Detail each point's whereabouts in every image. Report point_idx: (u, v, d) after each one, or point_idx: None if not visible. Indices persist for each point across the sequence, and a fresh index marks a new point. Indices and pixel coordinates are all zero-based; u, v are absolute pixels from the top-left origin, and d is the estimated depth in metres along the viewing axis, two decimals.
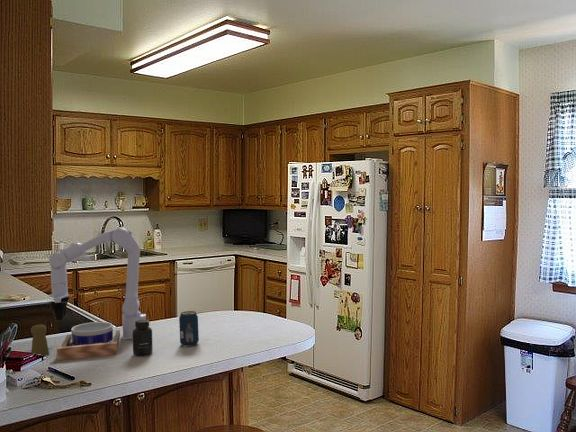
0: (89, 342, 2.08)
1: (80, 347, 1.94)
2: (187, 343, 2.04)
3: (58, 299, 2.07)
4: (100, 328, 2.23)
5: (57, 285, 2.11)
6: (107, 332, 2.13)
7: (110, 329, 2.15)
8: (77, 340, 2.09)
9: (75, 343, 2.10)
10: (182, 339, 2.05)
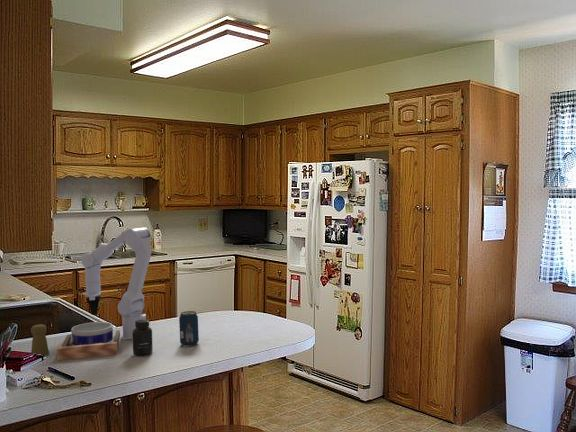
0: (89, 342, 2.08)
1: (80, 347, 1.94)
2: (187, 343, 2.04)
3: (93, 297, 2.20)
4: (100, 328, 2.23)
5: (91, 284, 2.24)
6: (107, 332, 2.13)
7: (110, 329, 2.15)
8: (77, 340, 2.09)
9: (75, 343, 2.10)
10: (182, 339, 2.05)
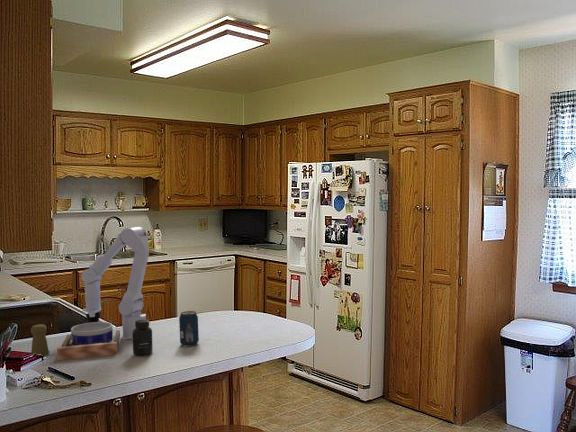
0: (89, 342, 2.08)
1: (80, 347, 1.94)
2: (187, 343, 2.04)
3: (92, 313, 2.17)
4: (100, 328, 2.22)
5: (91, 300, 2.21)
6: (107, 332, 2.12)
7: (110, 329, 2.14)
8: (77, 340, 2.09)
9: (75, 343, 2.09)
10: (182, 339, 2.05)
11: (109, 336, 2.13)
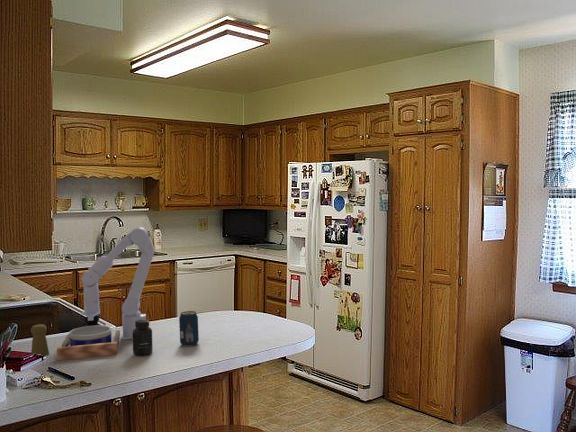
0: None
1: (80, 347, 1.94)
2: (187, 343, 2.04)
3: (91, 317, 2.11)
4: (98, 332, 2.16)
5: (90, 303, 2.15)
6: (105, 336, 2.06)
7: (109, 333, 2.08)
8: (74, 344, 2.02)
9: None
10: (182, 339, 2.05)
11: (108, 340, 2.07)
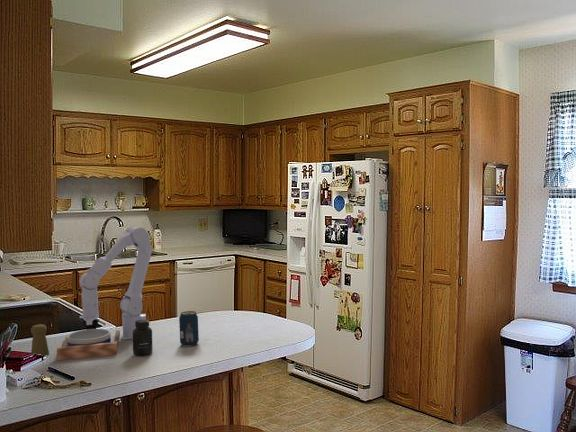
0: None
1: (80, 347, 1.94)
2: (187, 343, 2.04)
3: (90, 321, 2.04)
4: (98, 335, 2.11)
5: (88, 306, 2.08)
6: (104, 340, 2.00)
7: (108, 336, 2.03)
8: None
9: None
10: (182, 339, 2.05)
11: None
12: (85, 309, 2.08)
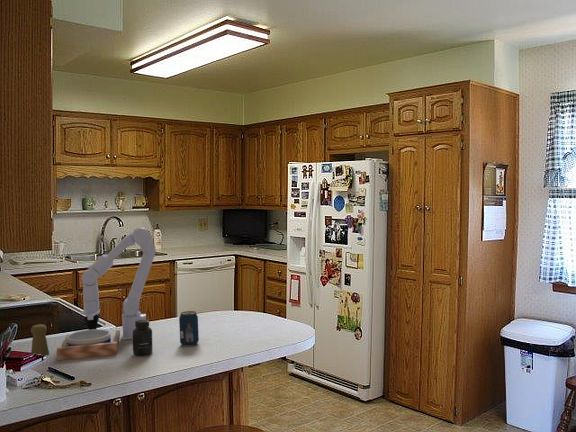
0: None
1: (80, 347, 1.94)
2: (187, 343, 2.04)
3: (91, 316, 2.09)
4: (98, 336, 2.11)
5: (89, 302, 2.13)
6: (104, 340, 2.00)
7: (108, 337, 2.03)
8: None
9: None
10: (182, 339, 2.05)
11: None
12: (86, 305, 2.13)
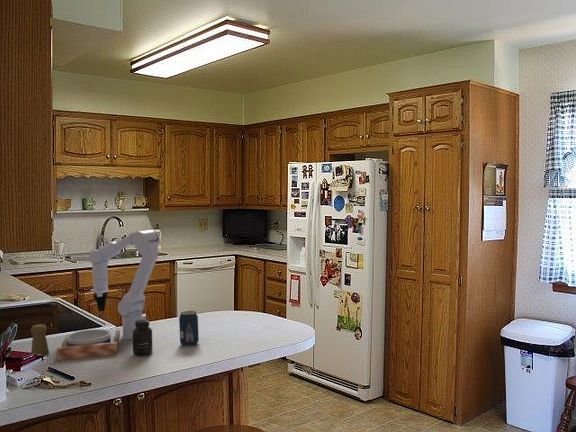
0: None
1: (80, 347, 1.94)
2: (187, 343, 2.04)
3: (100, 293, 2.19)
4: (98, 336, 2.11)
5: (98, 280, 2.23)
6: (104, 340, 2.00)
7: (108, 337, 2.03)
8: None
9: None
10: (182, 339, 2.05)
11: None
12: (95, 282, 2.24)
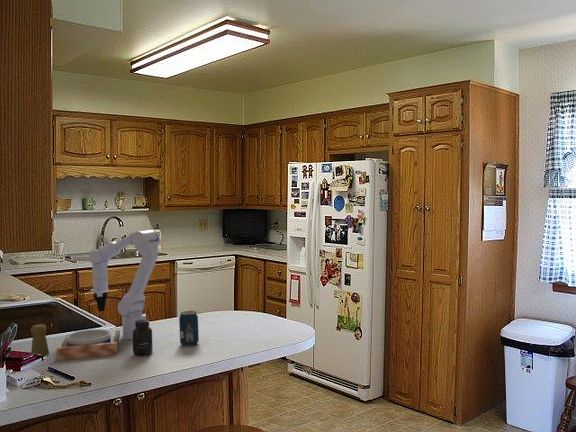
0: None
1: (80, 347, 1.94)
2: (187, 343, 2.04)
3: (100, 293, 2.19)
4: (98, 336, 2.11)
5: (98, 280, 2.23)
6: (104, 340, 2.00)
7: (108, 337, 2.03)
8: None
9: None
10: (182, 339, 2.05)
11: None
12: (95, 282, 2.24)
